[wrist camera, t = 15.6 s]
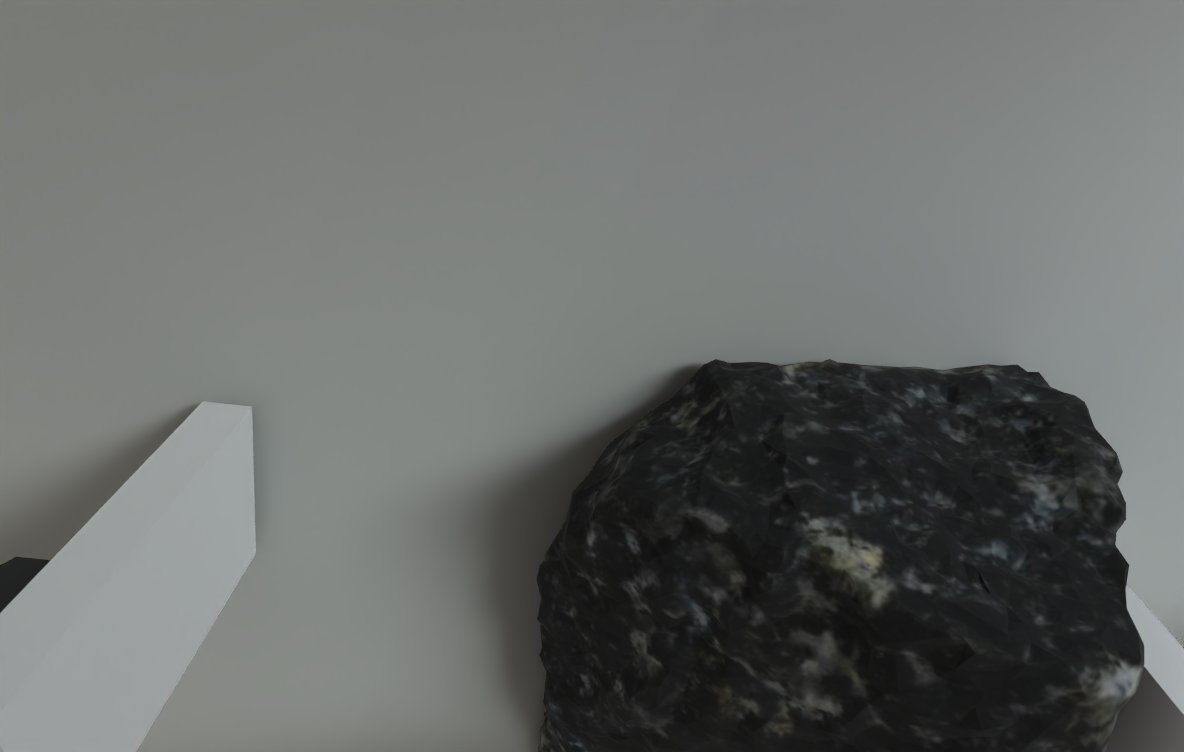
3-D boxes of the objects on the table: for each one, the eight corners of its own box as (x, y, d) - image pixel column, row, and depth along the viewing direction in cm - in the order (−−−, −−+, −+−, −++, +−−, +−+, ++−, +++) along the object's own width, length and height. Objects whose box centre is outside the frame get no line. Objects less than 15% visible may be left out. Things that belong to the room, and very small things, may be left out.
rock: (509, 786, 18) (470, 1134, 12) (580, 290, 14) (569, 487, 8) (861, 824, 18) (971, 1179, 13) (1029, 352, 14) (1295, 577, 9)
